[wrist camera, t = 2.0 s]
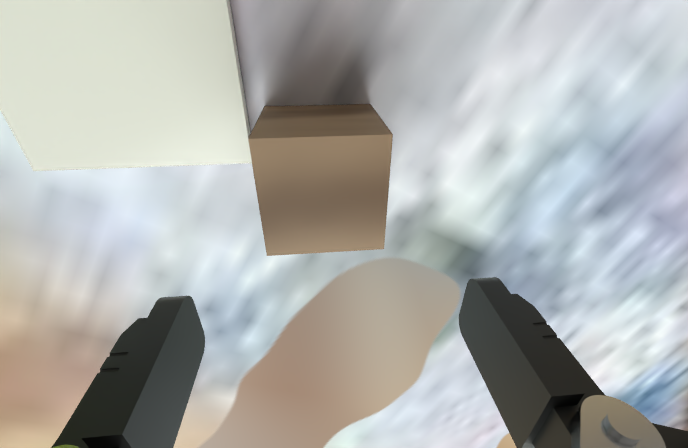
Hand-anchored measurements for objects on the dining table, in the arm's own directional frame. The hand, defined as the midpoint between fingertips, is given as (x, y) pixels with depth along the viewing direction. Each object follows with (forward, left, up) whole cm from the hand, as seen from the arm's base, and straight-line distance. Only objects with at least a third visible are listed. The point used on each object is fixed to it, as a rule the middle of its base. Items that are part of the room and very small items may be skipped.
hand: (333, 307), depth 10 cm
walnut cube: (0, 0, -13) cm, 13 cm away
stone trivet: (-6, -10, -12) cm, 17 cm away
